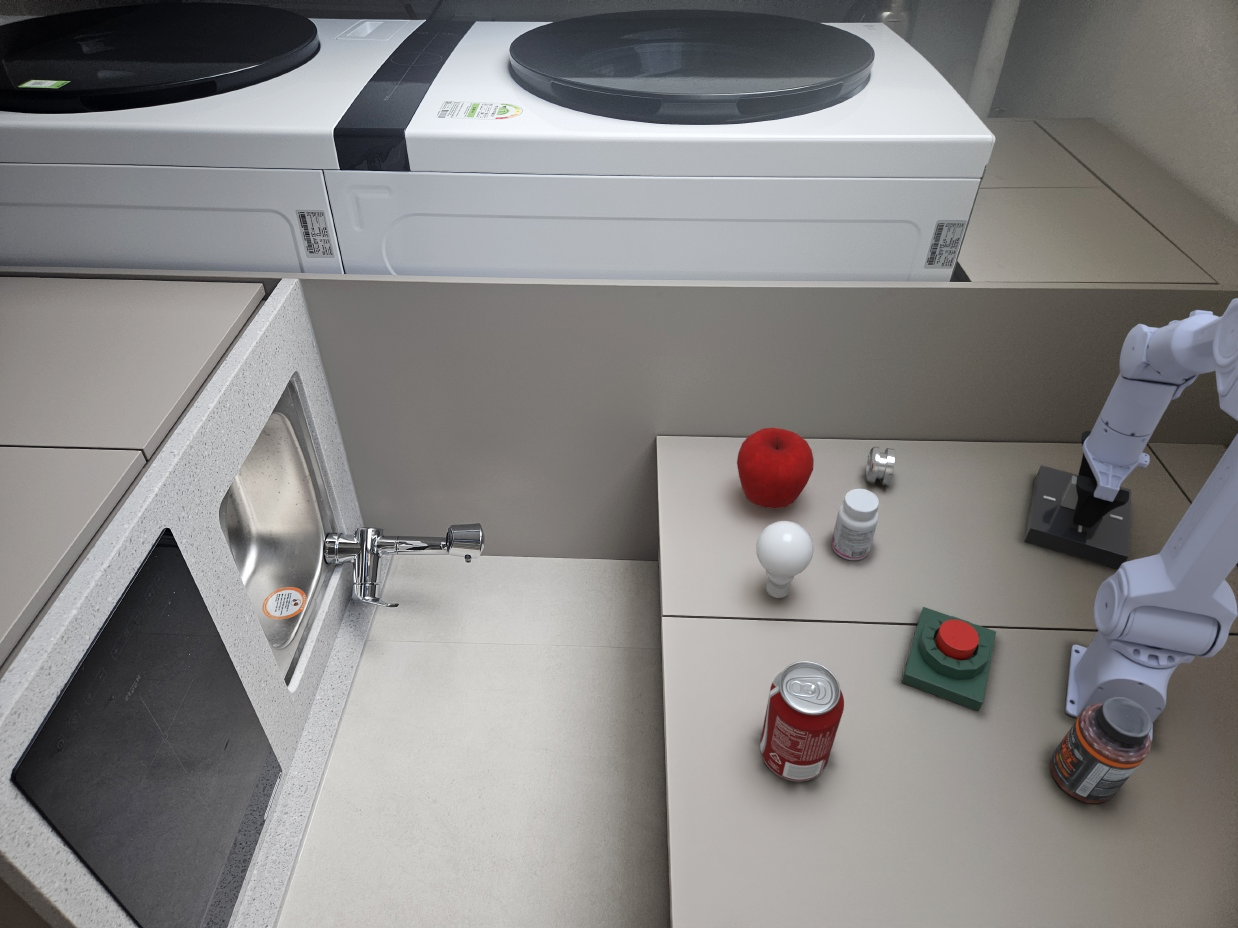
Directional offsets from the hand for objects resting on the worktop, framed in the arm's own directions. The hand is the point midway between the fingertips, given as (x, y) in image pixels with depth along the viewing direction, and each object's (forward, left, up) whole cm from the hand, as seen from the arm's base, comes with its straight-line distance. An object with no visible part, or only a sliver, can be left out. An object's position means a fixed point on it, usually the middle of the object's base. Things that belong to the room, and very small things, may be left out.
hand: (1083, 504), depth 102 cm
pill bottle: (-17, +25, -3) cm, 30 cm away
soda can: (-47, +23, -3) cm, 52 cm away
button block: (-29, +11, -3) cm, 31 cm away
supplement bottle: (-37, -3, -3) cm, 37 cm away
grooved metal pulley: (-3, +25, -3) cm, 25 cm away
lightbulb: (-28, +31, -3) cm, 42 cm away
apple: (-13, +37, -3) cm, 39 cm away
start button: (-29, +11, 0) cm, 31 cm away
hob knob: (0, 0, -1) cm, 1 cm away
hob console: (0, 0, -3) cm, 3 cm away
